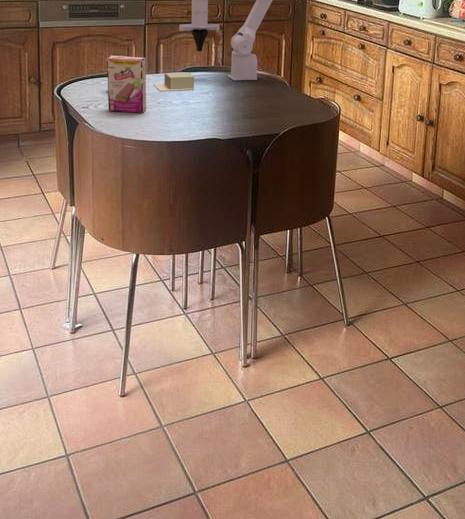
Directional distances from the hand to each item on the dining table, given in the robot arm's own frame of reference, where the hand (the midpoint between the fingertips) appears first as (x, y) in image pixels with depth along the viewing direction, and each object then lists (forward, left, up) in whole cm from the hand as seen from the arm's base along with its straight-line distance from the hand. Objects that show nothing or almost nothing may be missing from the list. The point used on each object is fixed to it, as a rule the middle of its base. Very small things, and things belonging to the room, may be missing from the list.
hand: (199, 50), depth 267 cm
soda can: (+32, +13, -11) cm, 36 cm away
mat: (+12, +11, -10) cm, 20 cm away
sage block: (+6, +11, -8) cm, 15 cm away
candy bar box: (+34, +39, -11) cm, 53 cm away
